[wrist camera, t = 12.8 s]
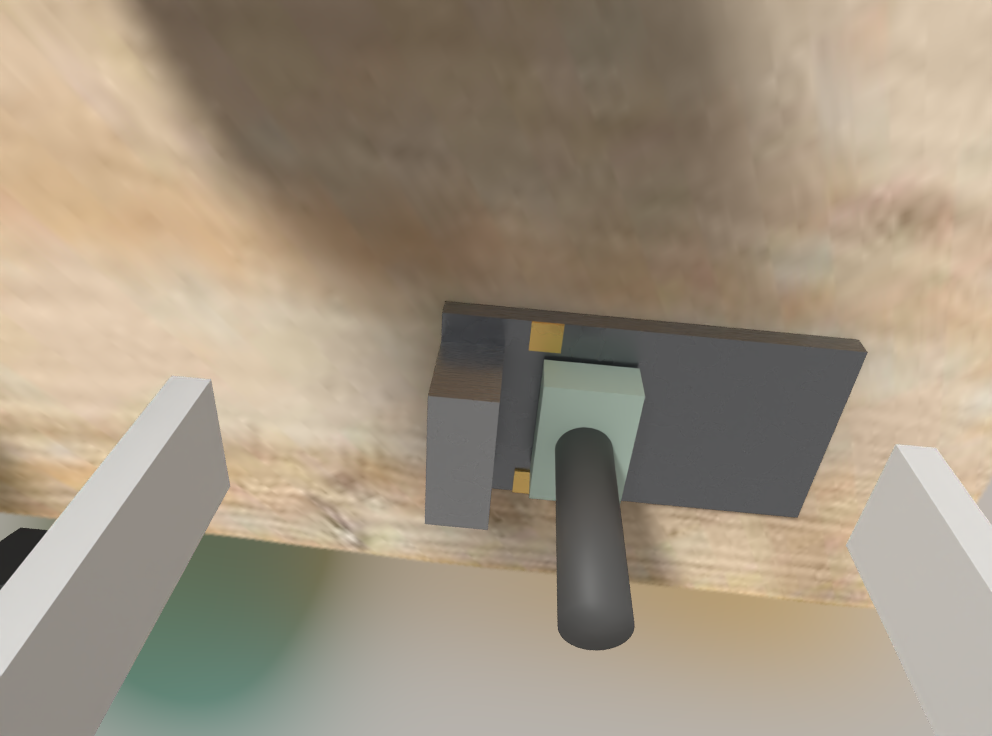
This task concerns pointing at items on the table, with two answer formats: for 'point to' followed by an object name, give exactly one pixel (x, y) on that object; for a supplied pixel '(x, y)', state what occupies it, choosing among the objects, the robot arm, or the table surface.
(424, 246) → the table surface
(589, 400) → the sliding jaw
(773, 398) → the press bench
